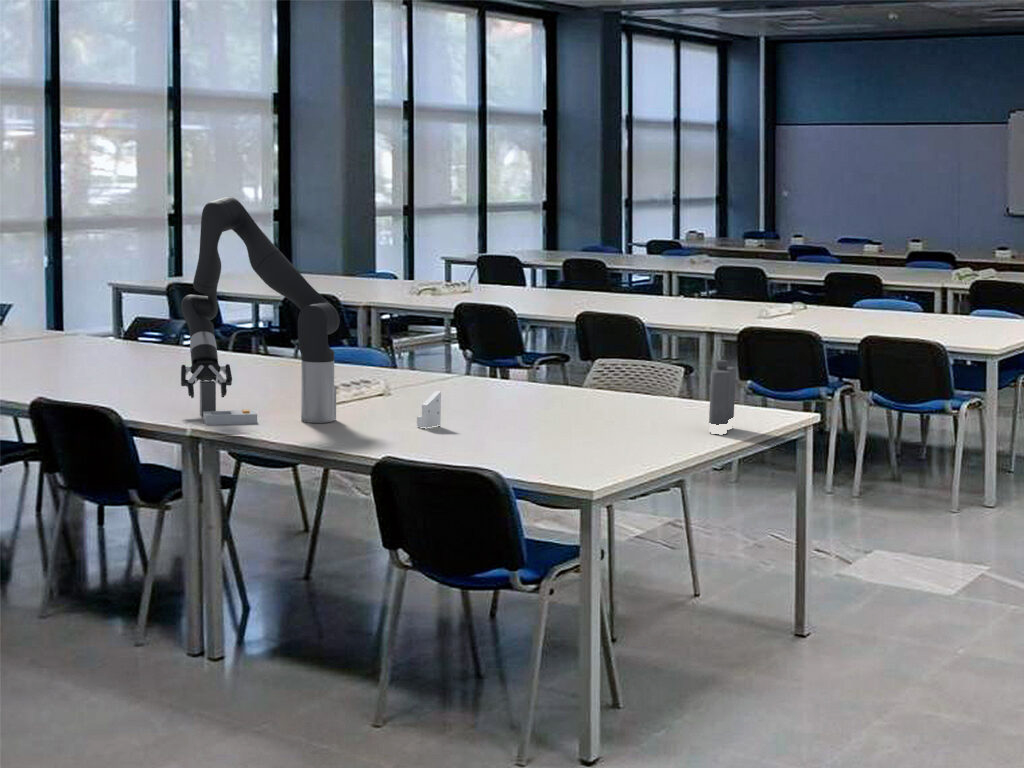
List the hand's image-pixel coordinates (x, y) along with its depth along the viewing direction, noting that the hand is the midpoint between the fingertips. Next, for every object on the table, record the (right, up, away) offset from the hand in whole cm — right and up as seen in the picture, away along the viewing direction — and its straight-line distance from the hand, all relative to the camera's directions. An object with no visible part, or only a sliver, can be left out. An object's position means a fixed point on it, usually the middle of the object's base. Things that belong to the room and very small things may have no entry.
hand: (208, 396), depth 430 cm
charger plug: (0, -6, +2) cm, 6 cm away
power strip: (+8, -8, -8) cm, 14 cm away
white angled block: (+63, -9, -6) cm, 64 cm away
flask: (+145, -10, -1) cm, 145 cm away
